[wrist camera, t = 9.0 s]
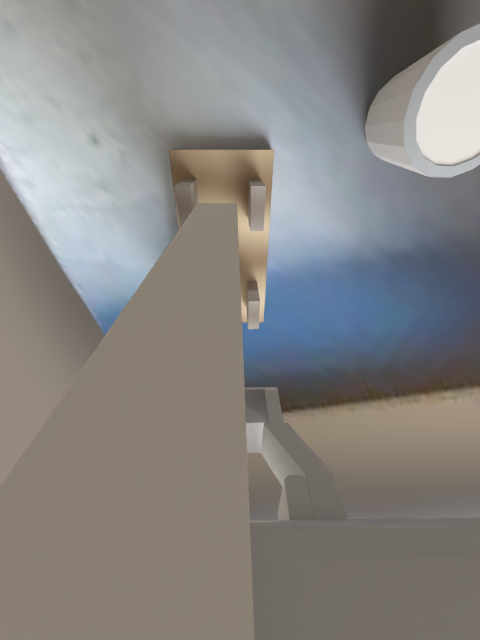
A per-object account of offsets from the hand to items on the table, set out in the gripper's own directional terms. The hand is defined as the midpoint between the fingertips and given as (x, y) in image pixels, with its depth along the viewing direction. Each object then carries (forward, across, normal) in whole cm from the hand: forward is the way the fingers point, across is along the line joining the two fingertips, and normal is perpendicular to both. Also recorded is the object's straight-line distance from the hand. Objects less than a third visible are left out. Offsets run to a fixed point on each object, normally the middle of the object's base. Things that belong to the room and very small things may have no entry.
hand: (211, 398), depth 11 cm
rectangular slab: (+9, 0, 0) cm, 9 cm away
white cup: (+18, -14, -10) cm, 25 cm away
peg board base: (+18, 0, 0) cm, 18 cm away
